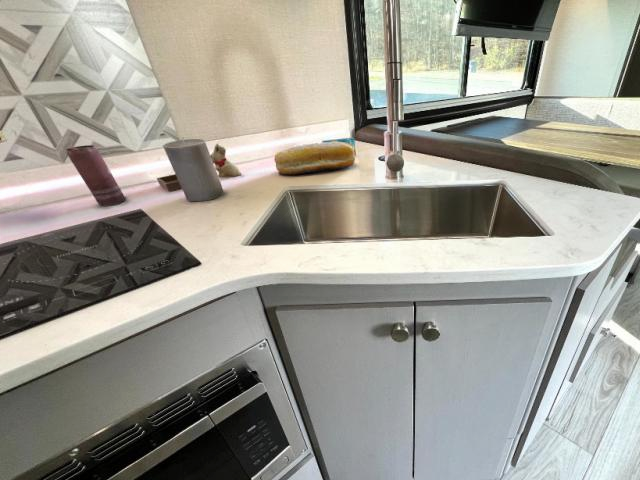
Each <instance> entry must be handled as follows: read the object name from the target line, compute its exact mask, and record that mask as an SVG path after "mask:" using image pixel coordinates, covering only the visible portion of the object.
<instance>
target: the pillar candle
mask: <svg viewBox="0 0 640 480" xmlns="http://www.w3.org/2000/svg"><path fill="white" fill-rule="evenodd" d="M161 147H162V148H163V149H164V151H165V154H166V156H167V158H168V161H169V163H170V165H171V168H172V169H173V172H174V174H176V176H177V179H178V181H179V183H180V185H181V187H182V189H181V190H182V192H183V194H184V196H185V198H186V200H187V201H189V202H206V201H211V200H215V199H217V198H220V197H221V196H222V195H224V193H225V191H224V189H223V185H222V184H221V180H220V178H219V177H220V176H219V173H218V171H217V170H216V167H215V164H214V163H213V161H212V159H211V156H210V155H211V154H210V151H209V149H208V145H207V143H206V141H205V139H201V138H188V139H185V138H184V137H182V139H180V140H173V141H169V142H167V143H164V144H162V146H161Z"/></svg>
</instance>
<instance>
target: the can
mask: <svg viewBox="0 0 640 480" xmlns="http://www.w3.org/2000/svg"><path fill="white" fill-rule="evenodd" d="M66 155H67V156H68V158H69V160H70V162H71V163H72V164H73V166H74V167H75V169H76V171H77V172H78V174H79V176H80V178H81V179H82V180H83V182H84V183H85V185H86V187H87V189H88V190H89V191H90V193H91V194H92V196H93V198H94V199H95V201H96V203H97V204H98V205H100V206H102V207H110V206H115V205H119V204H122V203H123V202H125V200H126V197H125V195H124V193H123V191H122V189H121V188H120V186H119V184H118V182H117V181H116V179H115V177H114V176H113V174H112V171H111V169H110V168H109V167H108V165H107V163H106V161H105V160H104V158H103V156H102V155H101V152H100V151H99V149H98V148H97V147H95V146H94V145H93V144H92V145H91V144H89V145H88V144H87V145H86V144H85V145H78V146H72V147H68V148H66Z"/></svg>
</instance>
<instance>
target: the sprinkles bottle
mask: <svg viewBox="0 0 640 480" xmlns="http://www.w3.org/2000/svg"><path fill="white" fill-rule="evenodd" d="M0 138H1V139H2V140H0V144H1V143H6V142H8V138H7V137H6V136H5V135H4V134H3V132H2V131H1V130H0Z"/></svg>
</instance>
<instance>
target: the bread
mask: <svg viewBox="0 0 640 480" xmlns="http://www.w3.org/2000/svg"><path fill="white" fill-rule="evenodd" d="M355 161H356V155H354V149H353V148H352V146H350V145H349V144H347V143H343V142H327V143H324V142H323V143H322V142H315V143H308V144H307V143H306V144H302V145H296V146H292V147H290V148H288V149H287V148H286V149H284V150H280V151H279V152H277V153H276V154H275V155H274V163H275V169H276V170H277V172H279V173H280V174H282V175H285V176H290V175H300V174H306V173H314V172H315V173H316V172H328V171H335V170H343V169H347V168H350V167H351V166H353V165H354V164H355Z"/></svg>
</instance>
